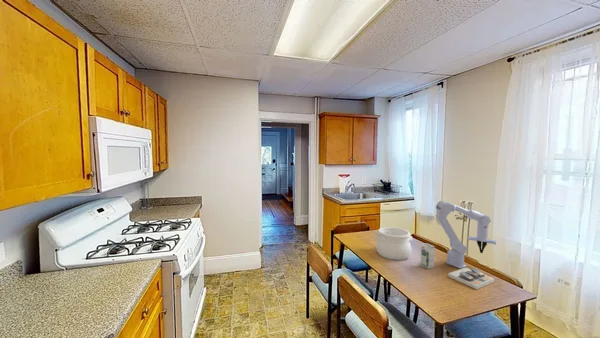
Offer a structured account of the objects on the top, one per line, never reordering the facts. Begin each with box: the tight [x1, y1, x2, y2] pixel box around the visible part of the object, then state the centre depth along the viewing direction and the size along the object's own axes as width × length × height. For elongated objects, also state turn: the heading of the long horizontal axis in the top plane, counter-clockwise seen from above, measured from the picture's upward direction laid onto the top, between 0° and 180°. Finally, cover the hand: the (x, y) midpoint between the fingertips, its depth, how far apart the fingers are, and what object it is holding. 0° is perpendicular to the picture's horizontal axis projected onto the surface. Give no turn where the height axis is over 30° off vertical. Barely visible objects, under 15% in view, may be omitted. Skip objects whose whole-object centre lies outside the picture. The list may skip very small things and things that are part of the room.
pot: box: [375, 226, 413, 261], centre depth 185 cm, size 26×24×18 cm
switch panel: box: [447, 267, 495, 290], centre depth 149 cm, size 16×18×2 cm
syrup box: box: [420, 243, 435, 269], centre depth 166 cm, size 6×6×14 cm
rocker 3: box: [469, 267, 485, 276], centre depth 151 cm, size 6×4×1 cm, turn 27°
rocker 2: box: [465, 271, 479, 277], centre depth 149 cm, size 6×4×1 cm, turn 27°
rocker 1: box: [459, 271, 474, 280], centre depth 146 cm, size 6×4×1 cm, turn 27°
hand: (481, 252), depth 166 cm, fingers closed
